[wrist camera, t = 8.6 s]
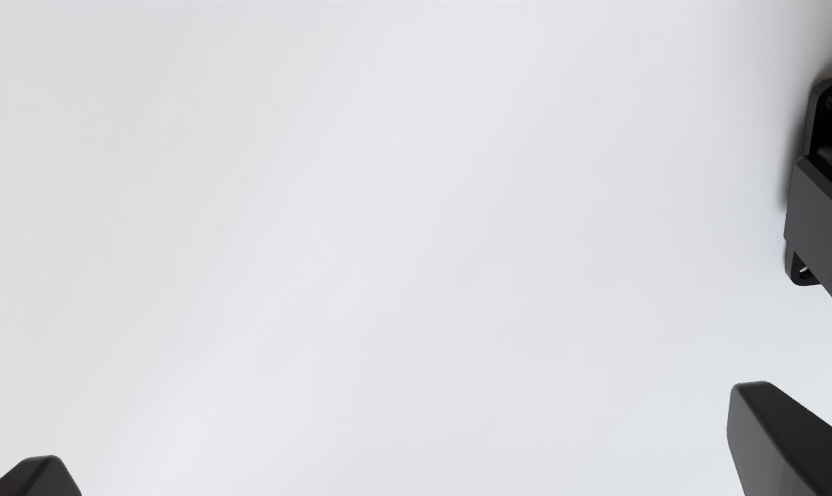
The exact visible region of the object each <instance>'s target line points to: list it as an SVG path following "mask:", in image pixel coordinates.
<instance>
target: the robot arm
mask: <svg viewBox="0 0 832 496" xmlns="http://www.w3.org/2000/svg"><path fill="white" fill-rule="evenodd" d="M831 95H832V78H830V79H827V80H824V81H822V82H821V83H819V84H818V85H817V86H816V87H815V88H814V90H813V91H812V93H811V96H810V99H809V105H808V112H807V119H806V126H805V133H804V139H803V146H802V153H801V156H800V157H799V158H798V159H797V161H796V162H795V163H794V165H793V171H792V178H791V185H790V192H789V199H788V206H787V213H786V220H785V228H784V238H785V240H786V241H787V242H788V248H787V255H786V262H785V273H786V274H787V275H788V277H789V278H790V279H791V280H792V282H793V283H794V284H796V285H798V286H809V285H818V284H822V286H823V287H824V288H825V289H826V290H827V292H828V293H829V294H830V295H831V297H832V104H829V105H826V101H827V99H828V97H829V96H831ZM806 266H807V267H808V269H806V270H805V271H803V272H800V270H801V269H802V268H803V267H806ZM727 439H728V444H729V448H730V451H731V454H732V457H733V461H734V464H735V467H736V470H737V473H738V476H739V479H740V482H741V485H742V488H743V491H744V494H745V496H832V426H830V425H829V424H827V423H826V422H825V421H823V420H822V419H820V418H819V417H818V416H816V415H815V414H814V413H812V412H811V411H809V410H808V409H807V408H805V407H804V406H802V405H801V404H800V403H798V402H797V401H795V400H794V399H793V398H791V397H790V396H788V395H787V394H786V393H784V392H783V391H781V390H780V389H779V388H777V387H776V386H774V385H773V384H771V383H769V382H767V381H757V382H747V383H738V384H736V385H734V386H733V388H732V390H731V395H730V404H729V413H728V421H727ZM0 496H82V494H81V492H80V490H79V488H78V486H77V485H76V483H75V481H74V480H73V478H72V476H71V475H70V473H69V472H68V470H67V468H66V467H65V465H64V463H63V462H62V460H61V459H60V458H58V457H57V456H53V455H48V456H38V457H30V458H27V459H24V460H22V461H21V462H20V463H18V464H17V465H16V466H15V467H14V468H12V469H11V470H10V471H9V472H8V473H6V474H5V475H4V476H3V477H2V478H0Z"/></svg>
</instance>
